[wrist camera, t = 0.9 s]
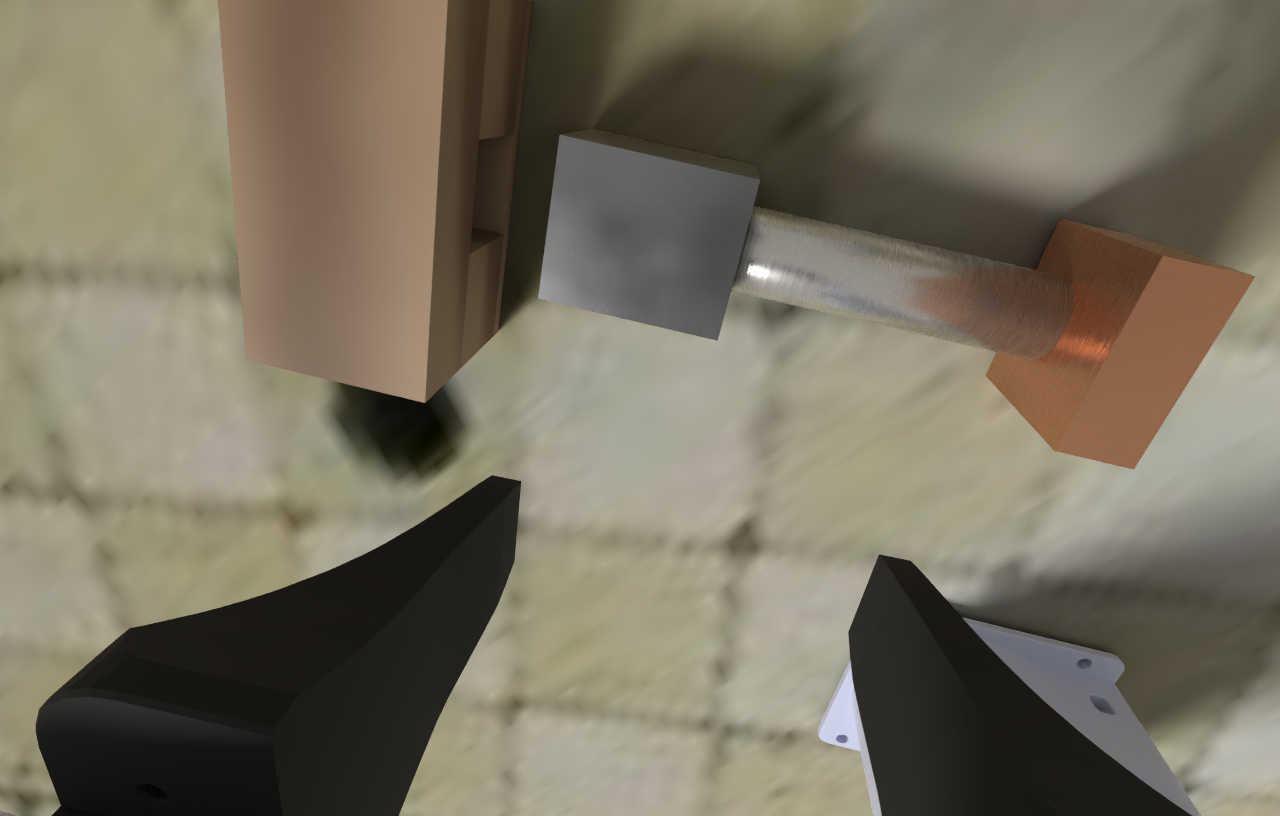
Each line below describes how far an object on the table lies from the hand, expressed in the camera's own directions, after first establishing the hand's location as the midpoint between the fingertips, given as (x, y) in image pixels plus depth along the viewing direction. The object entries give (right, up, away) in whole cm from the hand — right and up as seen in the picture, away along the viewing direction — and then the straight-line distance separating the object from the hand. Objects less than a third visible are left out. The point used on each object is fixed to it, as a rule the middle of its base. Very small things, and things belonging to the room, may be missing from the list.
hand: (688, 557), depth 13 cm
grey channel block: (0, +9, +7) cm, 12 cm away
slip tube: (+5, +8, +7) cm, 11 cm away
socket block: (-7, +11, +8) cm, 15 cm away
